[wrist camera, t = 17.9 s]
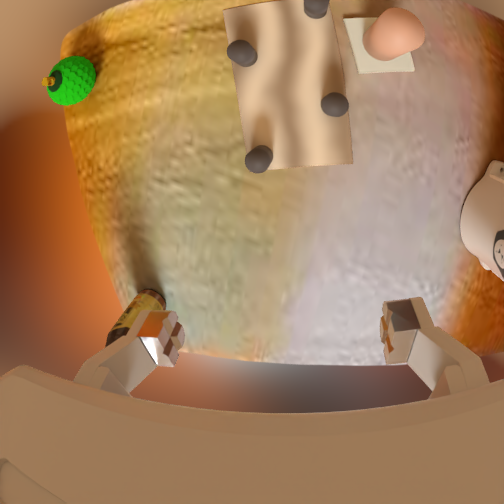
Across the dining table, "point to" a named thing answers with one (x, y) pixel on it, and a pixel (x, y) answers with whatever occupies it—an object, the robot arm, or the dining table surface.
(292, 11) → the post board
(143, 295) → the sauce bottle
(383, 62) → the mat
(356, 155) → the dining table surface
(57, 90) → the ornament
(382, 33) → the tan cylinder block
